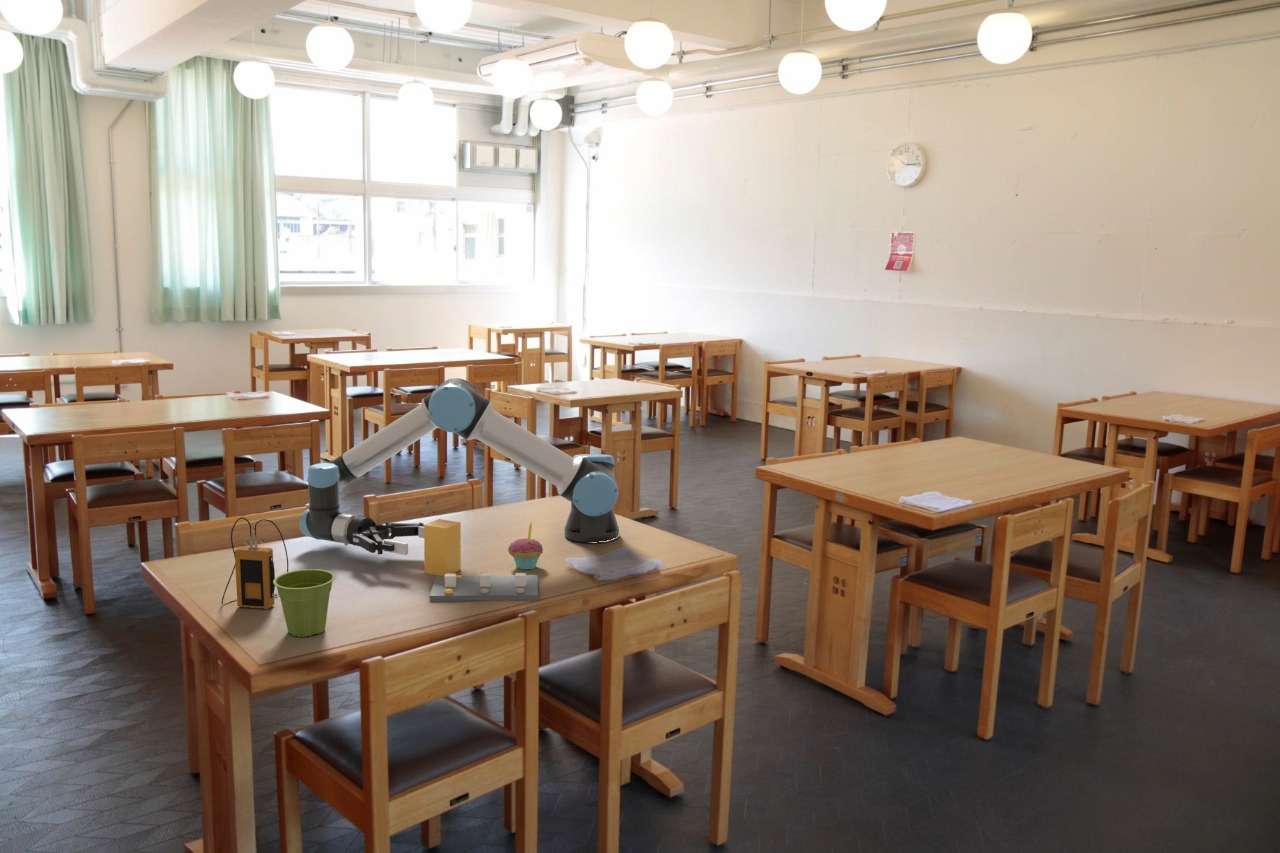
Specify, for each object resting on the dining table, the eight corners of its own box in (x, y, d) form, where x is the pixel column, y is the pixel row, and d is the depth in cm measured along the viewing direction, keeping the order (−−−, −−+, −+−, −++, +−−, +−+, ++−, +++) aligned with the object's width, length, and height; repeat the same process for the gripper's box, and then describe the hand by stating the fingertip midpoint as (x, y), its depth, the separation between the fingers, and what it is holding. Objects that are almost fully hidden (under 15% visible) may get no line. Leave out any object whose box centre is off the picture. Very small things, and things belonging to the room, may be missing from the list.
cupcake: (549, 567, 247) (550, 520, 245) (523, 574, 241) (524, 526, 238) (527, 559, 252) (527, 513, 250) (501, 566, 246) (501, 519, 244)
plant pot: (273, 624, 205) (271, 572, 203) (333, 617, 209) (331, 566, 207) (277, 645, 194) (274, 590, 192) (339, 638, 199) (338, 584, 197)
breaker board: (537, 579, 237) (537, 564, 236) (538, 599, 223) (538, 584, 223) (435, 580, 234) (435, 565, 234) (429, 601, 221) (429, 585, 220)
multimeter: (305, 595, 222) (302, 509, 219) (285, 611, 212) (282, 521, 209) (242, 591, 223) (239, 505, 220) (220, 607, 214) (215, 517, 210)
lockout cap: (439, 565, 245) (439, 518, 243) (460, 569, 243) (460, 522, 241) (424, 572, 240) (424, 524, 238) (446, 576, 237) (445, 528, 235)
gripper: (386, 532, 262) (453, 543, 254) (320, 557, 240) (392, 570, 231) (386, 505, 261) (453, 515, 253) (319, 527, 239) (391, 539, 230)
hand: (424, 542), depth 242 cm, fingers open, 13 cm apart
